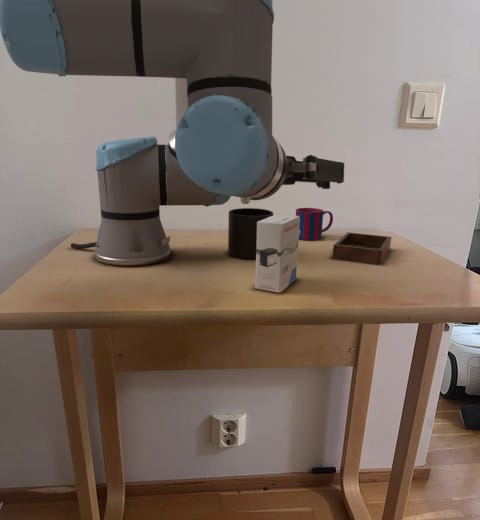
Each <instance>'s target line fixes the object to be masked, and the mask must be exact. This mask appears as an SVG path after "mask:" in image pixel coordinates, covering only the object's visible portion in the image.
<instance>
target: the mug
mask: <svg viewBox="0 0 480 520" xmlns="http://www.w3.org/2000/svg"><path fill="white" fill-rule="evenodd" d="M273 215H274V211H272V210H269V209H265V208H255V207H254V208H253V207H243V208H242V207H240V208H233V209H230V210H229V211H228V226H227V227H228V232H227V233H228V234H227V235H228V236H227V241H228V242H227V252H228V254H229V255H230V256H232V257H234V258H238V259H243V260H244V259H245V260H256V250H257V222H258V221H261V220H263V219H266V218H268V217H271V216H273Z"/></svg>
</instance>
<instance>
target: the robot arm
mask: <svg viewBox="0 0 480 520" xmlns="http://www.w3.org/2000/svg"><path fill="white" fill-rule="evenodd" d="M273 7H274V5H273V0H0V34H1V37H2V40H3V44H4V46H5V49H6V52H7V53H8V55H9V57H10V59H11V61H12V62H13V63H14V65H16V67H18V68H19V69H21V70H22V71H25V72H28V73H39V74H49V75H57V76H58V77H66V76H88V77H89V76H91V77H92V76H95V77H102V76H103V77H133V78H134V77H136V78H137V77H138V78H163V79H165V78H166V79H167V78H169V79H174V84H175V88H174V89H175V129H173V130H172V131H171V132H170V133H169V135H168V138H167V139H168V140H167V144H158V139H157V138H156V137H155V136H143V137H142V136H141V137H132V138H128V139H127V138H125V139H117V140H111V141H105V142H102V143H101V144H99V145H98V146H97V148H96V152H95V154H96V155H95V157H96V158H95V159H96V167H95V171H96V172H97V184H98V195H99V196H98V197H99V207H100V221H101V222H100V225H99V228H98V234H97V239H96V241H94V242H88V243H74V242H72V243H70V248H73V249H78V250H80V249H81V250H85V249H90V248H94V255H95V256H94V257H95V260H97V261H98V262H100V263H103V264H106V265H110V266H121V267H134V266H135V267H136V266H138V267H139V266H146V265H153V264H157V263H162V262H163V261H166V260H168V259H169V258H170V257H171V248H170V247H171V246H170V243H171V235H169V236H167V235H166V232H165V229H164V226H163V224H162V221H161V215H160V214H161V212H160V210H161V209H160V207H162V206H164V207H165V206H166V207H167V206H204V207H211V206H222V205H224V204H226V203H228V202H229V200H230V199H231V197H235V198H240V203H241V204H242V205H248V204H250V202H251V201H261V200H265V199H268V198H270V197H272V196H273V195H274V194H276V193H277V192H278V191H279V190H280V189H281V188H282V186H294V185H295V184H296V183H312V184H315V185H316V187H317V188H319V189H322V190H330V189H331V183H336V184H343V183H344V182H345V162H342V161H335V160H331V159H325V158H319V157H317V156H315V155H313V154H309V155H307V156H305V157H303V158H302V161H301V160H297V158H296V157H295V155H294V156H293V155H287V154H286V152H285V149H284V147H283V146H282V145H281V144H280V142H279V140H277V139H276V137H275V136H274V135H273V95H272V93H273V91H272V89H273V88H272V73H273V72H272V71H273V70H272V68H273V66H272V65H273V62H272V61H273V30H274V29H273V27H274V26H273V25H274V23H275V22H274V21H275V12H274V8H273Z"/></svg>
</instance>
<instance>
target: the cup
mask: <svg viewBox="0 0 480 520" xmlns="http://www.w3.org/2000/svg"><path fill="white" fill-rule="evenodd" d="M326 214H328V215H329V222H328V223H327V226H326V227H325V228H323V222H324V215H326ZM295 216H299V217H300V225H299V240H302V241H319V240H321V239H322V233H325V232H327V231H328V230H330V228H331V227H332V225H333V221H334V216H333V213H332V212H331V211H329V210H323V209H321V208H316V207H299V208H296V209H295Z"/></svg>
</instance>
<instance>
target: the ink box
mask: <svg viewBox="0 0 480 520" xmlns="http://www.w3.org/2000/svg"><path fill="white" fill-rule="evenodd" d="M299 225H300V217H299V216H296V215H289V214H273V216H271V217H268V218H266V219H263V220H261V221H258V222H257V250H256V259H255V281H254V282H255V283H254V284H255V285H254V289H255V290H261V291H267V292H274V293H277V294H279V293H282V292H283V291H285V290H286V289H287V288H288V287H290V285H291V284H293V283H294V282H295V281H296V280H297V267H298V254H299V253H298V252H299V241H300V239H299Z"/></svg>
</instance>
